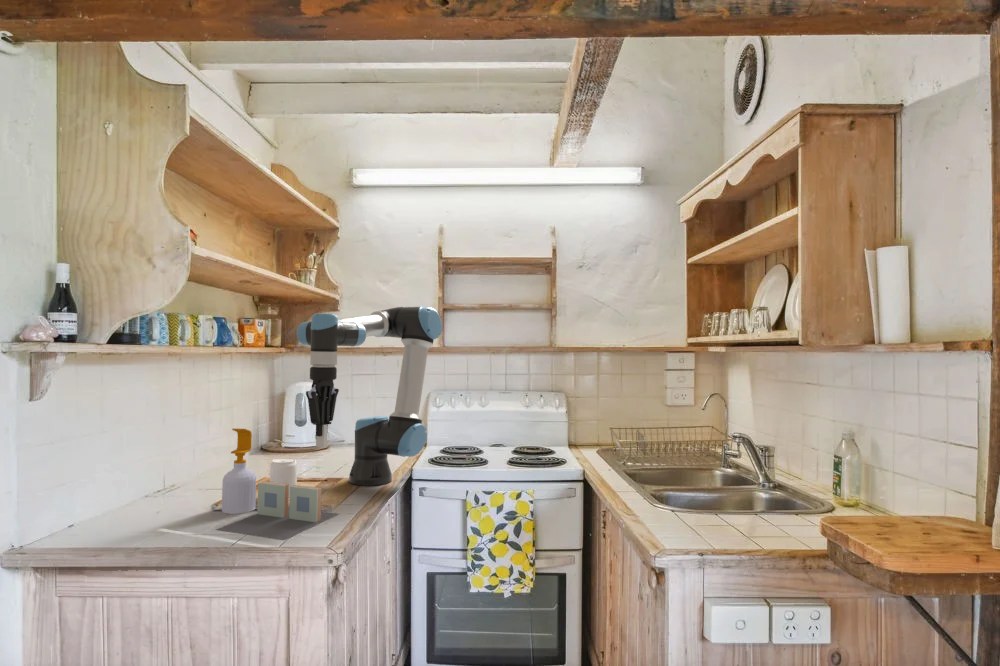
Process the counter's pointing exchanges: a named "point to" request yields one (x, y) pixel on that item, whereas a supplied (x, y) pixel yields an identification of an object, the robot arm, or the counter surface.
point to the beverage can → (284, 471)
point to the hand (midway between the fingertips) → (321, 446)
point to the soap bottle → (239, 479)
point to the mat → (273, 526)
